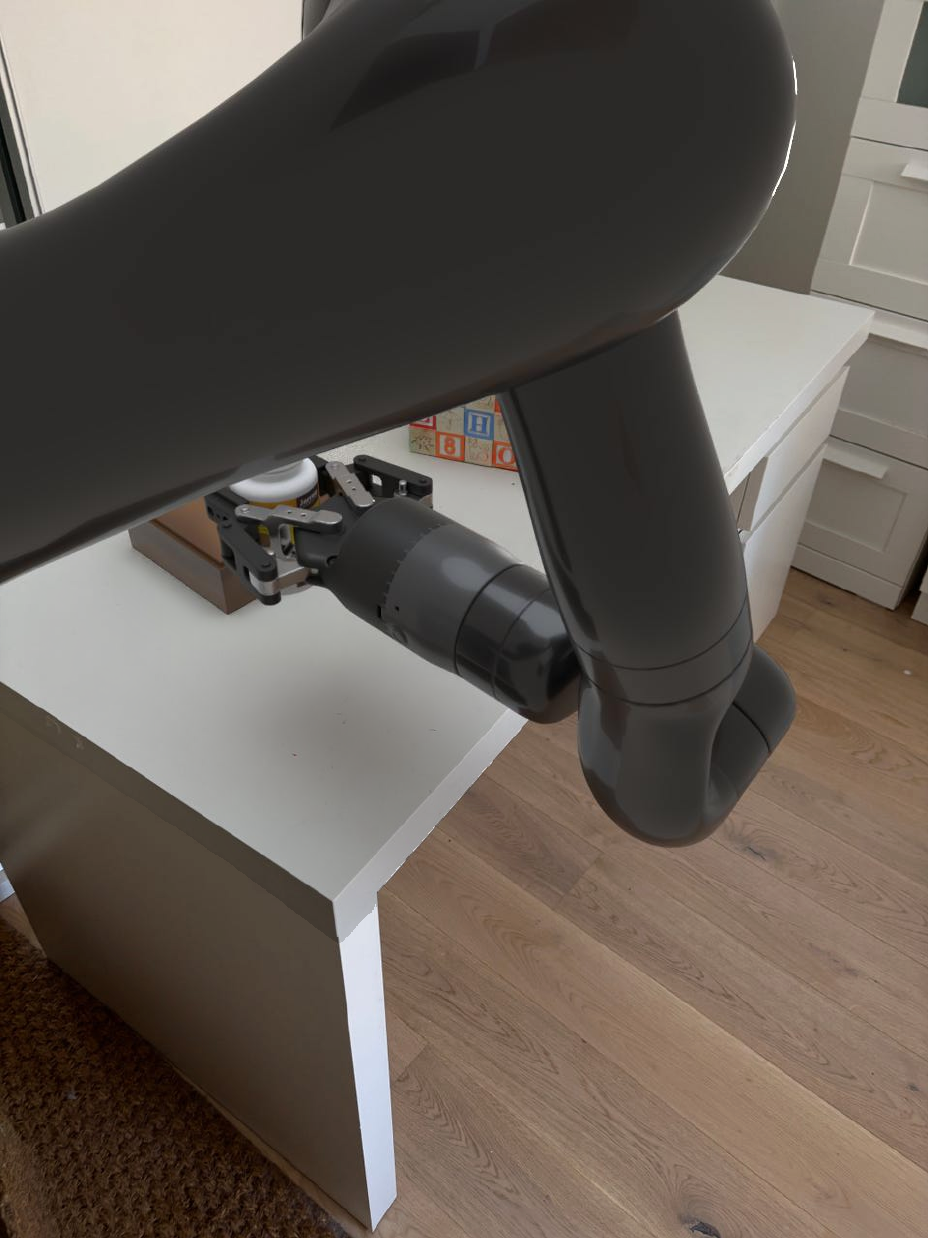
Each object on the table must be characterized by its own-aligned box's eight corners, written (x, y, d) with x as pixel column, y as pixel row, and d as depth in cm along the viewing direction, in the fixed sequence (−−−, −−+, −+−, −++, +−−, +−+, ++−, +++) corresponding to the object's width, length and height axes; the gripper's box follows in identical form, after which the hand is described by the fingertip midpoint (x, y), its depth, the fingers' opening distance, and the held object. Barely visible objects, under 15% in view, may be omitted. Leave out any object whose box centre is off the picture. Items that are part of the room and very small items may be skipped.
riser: (227, 614, 79) (219, 566, 76) (131, 546, 86) (119, 498, 83) (353, 543, 88) (350, 496, 84) (255, 485, 95) (249, 440, 91)
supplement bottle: (314, 603, 63) (300, 467, 57) (232, 595, 64) (208, 459, 57) (335, 554, 67) (324, 422, 61) (258, 547, 68) (239, 415, 61)
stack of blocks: (621, 458, 100) (638, 346, 92) (609, 489, 95) (625, 373, 87) (427, 424, 105) (426, 314, 97) (407, 451, 100) (404, 338, 92)
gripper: (523, 481, 56) (329, 388, 64) (335, 591, 47) (141, 468, 56) (516, 584, 60) (336, 485, 69) (345, 701, 52) (165, 571, 61)
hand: (250, 478), depth 63 cm, fingers closed on supplement bottle, 5 cm apart
